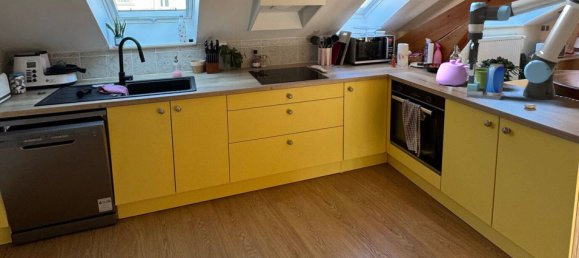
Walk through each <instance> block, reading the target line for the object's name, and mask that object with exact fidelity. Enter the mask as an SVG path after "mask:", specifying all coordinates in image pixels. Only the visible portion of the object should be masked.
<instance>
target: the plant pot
mask: <svg viewBox="0 0 579 258" xmlns="http://www.w3.org/2000/svg"><path fill="white" fill-rule="evenodd" d="M488 68H489V67H486V68H485V67H478V68H477V67H476V71H475V82H480V88H486V82H487V72H488Z"/></svg>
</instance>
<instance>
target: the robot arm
mask: <svg viewBox="0 0 579 258" xmlns="http://www.w3.org/2000/svg"><path fill="white" fill-rule="evenodd" d="M563 3H565V6H564V8H563V9H562V11H561V13H560V14H559V16H558V18H557V20H556V22H555V24H554V25H553V27H552V28H551V30H550V32H549V33H548V34H547V37H546V38H545V41H544V42H543V44H542V46H541V48H540V49H539V50H537V51H534V53H533V54H532V55H531V58H530V59H529V62H528V63H527V64H526V65H525V66H524V71H523V74H524V77H525V79H526V80H527V83H526V86H525V88H524V89H523V90H522V91H523V93H522V96H523V97H524V98H529V99H534V100H535V99H536V100H552V99H555V97H556V91H555V86H554V78H555V71H556V66H557V65H558V63H559V58H558V57H559V55H560V53H561V52H562V50H563V49H564V47H565V46H566V44H567V42H568V40H569V38H570V37H571V36H572V33H573V32H574V31H575V29H576V27H577V26H578V24H579V0H514V1H512V2H508V3H504V4H501V5H492V6H491V5H490V6H489V5H487V3H486V2H485V1H484V2H478V1H477V2H472V3H471V5H470V10H469V20H468V25H467V28H468V33H467V40H469V41H471V42H469V43H470V44H469V46H468V47H469V48H468V49H469V52H468V53H469V54H468V62H467V64H468V66H469V69H468V70H469V73H468V76H469V75H470V76H474V67H475V71H476V69H477V65H476V66H475V64H474V62H475V58H476V64H477V63H478V62H479V61H478V56H479V48H480V42H479V41H481V40H483V39H484V30H485V29H484V28H485V21H487V22H488V21H489V22H491V21H492V22H493V21H494V22H507V21H509V20H510V18H512V17H516V16H519V15H523V14H527V13H531V12H535V11H538V10H542V9H545V8H549V7H552V6H556V5H559V4H563ZM474 77H475V76H474Z"/></svg>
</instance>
